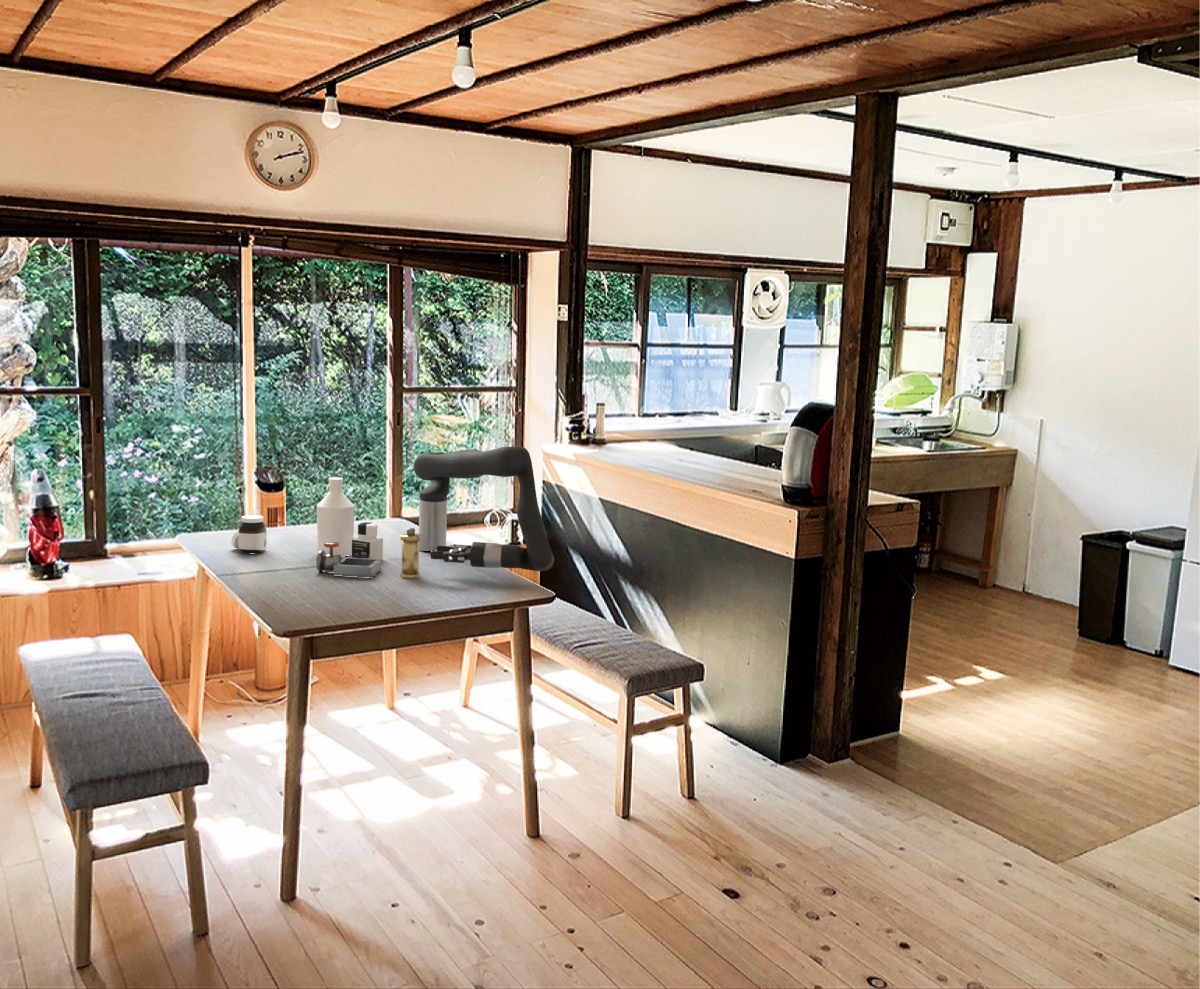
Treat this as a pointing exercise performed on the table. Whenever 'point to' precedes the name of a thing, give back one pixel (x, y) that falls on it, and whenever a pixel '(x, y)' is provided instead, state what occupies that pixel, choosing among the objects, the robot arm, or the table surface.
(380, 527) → the table surface
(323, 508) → the bottle
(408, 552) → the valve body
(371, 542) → the medicine bottle
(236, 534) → the spread jar
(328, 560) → the grey piece
